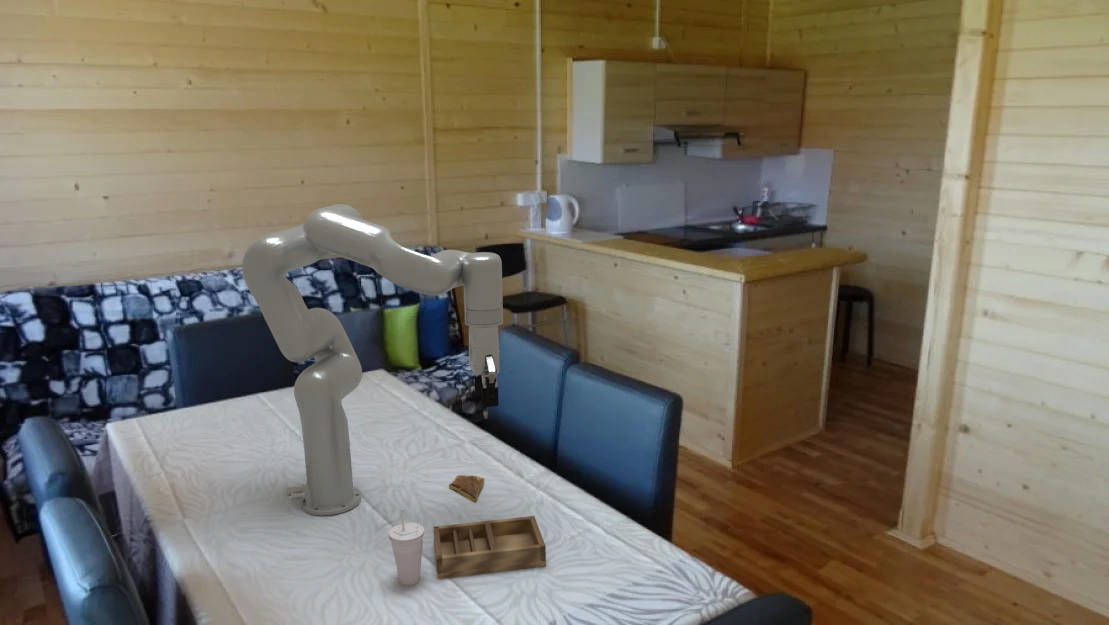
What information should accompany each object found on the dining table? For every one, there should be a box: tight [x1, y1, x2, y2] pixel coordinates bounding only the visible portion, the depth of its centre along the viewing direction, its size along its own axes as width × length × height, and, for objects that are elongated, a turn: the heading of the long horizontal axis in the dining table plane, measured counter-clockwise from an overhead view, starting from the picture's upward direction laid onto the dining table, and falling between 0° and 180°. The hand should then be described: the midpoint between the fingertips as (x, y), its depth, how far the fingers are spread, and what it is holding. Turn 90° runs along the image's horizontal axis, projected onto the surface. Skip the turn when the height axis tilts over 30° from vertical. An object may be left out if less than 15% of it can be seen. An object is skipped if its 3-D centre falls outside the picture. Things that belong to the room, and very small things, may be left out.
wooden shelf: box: [432, 515, 547, 580], centre depth 151 cm, size 20×12×4 cm, turn 101°
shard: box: [448, 474, 485, 503], centre depth 178 cm, size 11×8×2 cm
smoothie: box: [388, 507, 426, 586], centre depth 142 cm, size 6×6×14 cm
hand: (486, 398), depth 160 cm, fingers open, 9 cm apart
